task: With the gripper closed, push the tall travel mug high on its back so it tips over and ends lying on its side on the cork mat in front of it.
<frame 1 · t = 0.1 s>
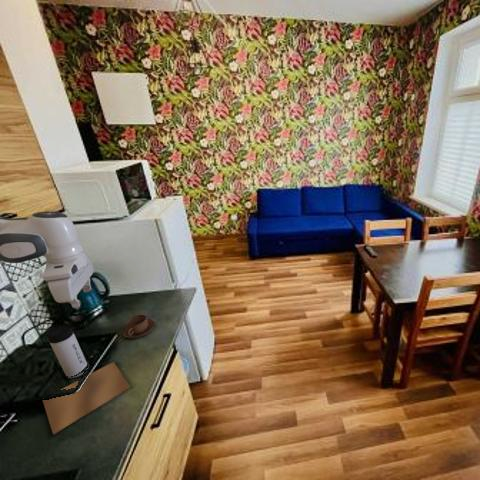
hand: (82, 298, 89), 31 cm above the kitchen counter, tool pointing down, fingers open, 8 cm apart
travel mug: (77, 372, 99), on the kitchen counter
cork mat: (87, 393, 91), on the kitchen counter
cup and saucer: (140, 331, 119), on the kitchen counter
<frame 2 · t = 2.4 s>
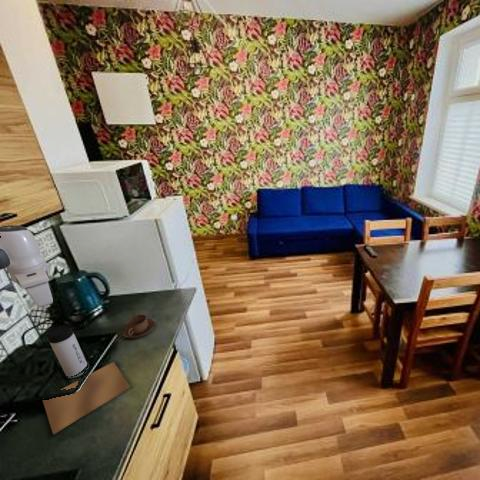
hand: (46, 306, 94), 25 cm above the kitchen counter, tool pointing down, fingers closed
nothing on the kitchen counter moved.
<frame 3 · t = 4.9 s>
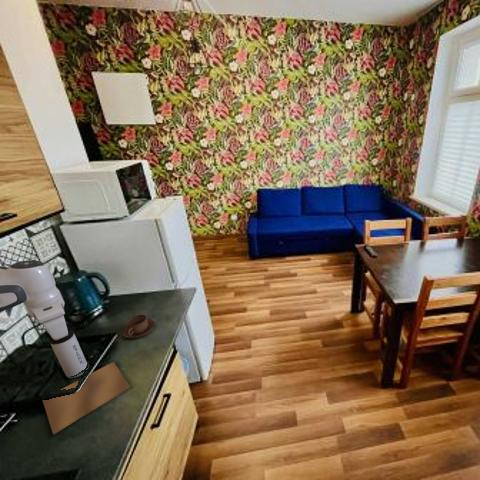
hand: (60, 336, 96), 14 cm above the kitchen counter, tool pointing down, fingers closed
travel mug: (77, 372, 99), on the kitchen counter, touching gripper
everything else where it was.
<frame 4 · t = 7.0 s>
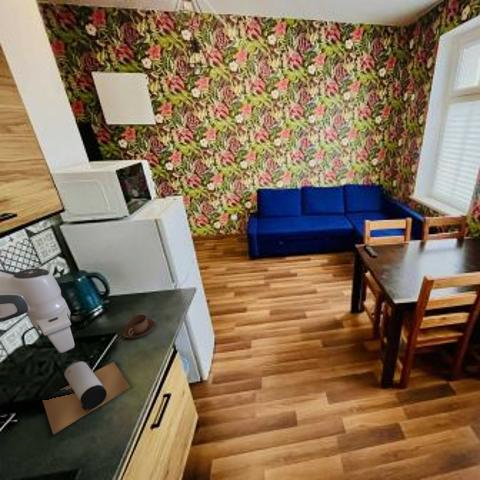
hand: (66, 347, 91), 14 cm above the kitchen counter, tool pointing down, fingers closed
travel mug: (74, 369, 95), point 4 cm above the kitchen counter, touching cork mat
everything else where it was.
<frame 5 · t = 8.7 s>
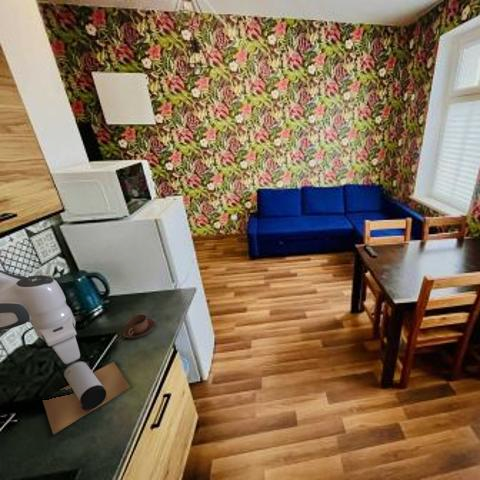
hand: (71, 357, 87), 14 cm above the kitchen counter, tool pointing down, fingers closed
nothing on the kitchen counter moved.
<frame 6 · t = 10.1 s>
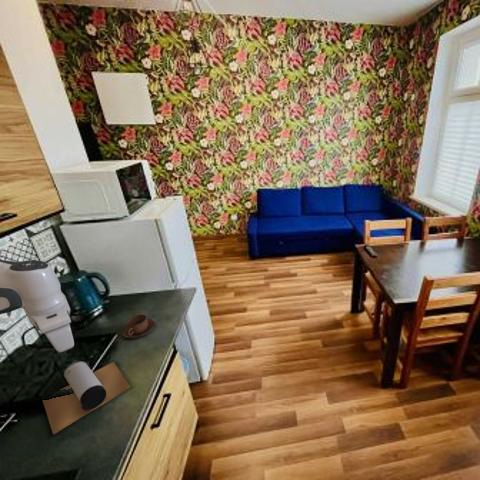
hand: (64, 346, 85), 19 cm above the kitchen counter, tool pointing down, fingers closed
nothing on the kitchen counter moved.
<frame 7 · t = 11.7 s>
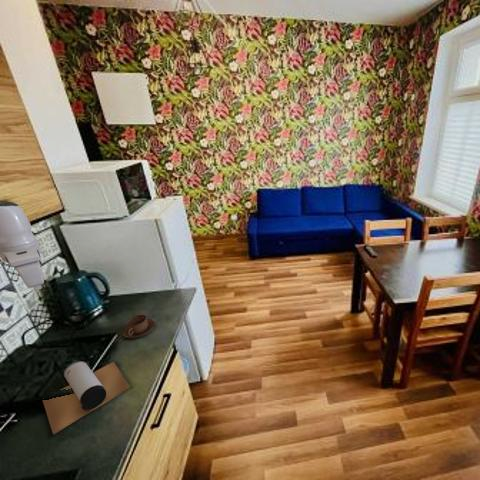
hand: (37, 288, 90), 34 cm above the kitchen counter, tool pointing down, fingers closed
nothing on the kitchen counter moved.
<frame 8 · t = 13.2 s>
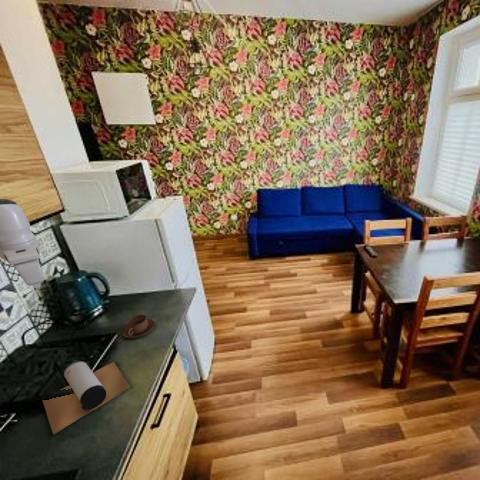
hand: (37, 286, 90), 34 cm above the kitchen counter, tool pointing down, fingers closed
nothing on the kitchen counter moved.
at the end: travel mug tilted 90°; travel mug inside the target area (2.0 cm from its centre), point 3.7 cm above the kitchen counter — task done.
